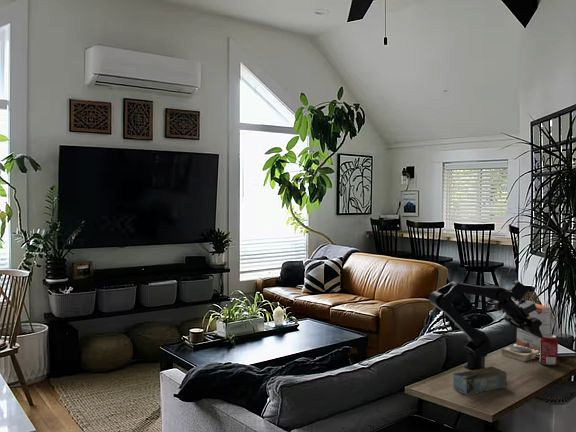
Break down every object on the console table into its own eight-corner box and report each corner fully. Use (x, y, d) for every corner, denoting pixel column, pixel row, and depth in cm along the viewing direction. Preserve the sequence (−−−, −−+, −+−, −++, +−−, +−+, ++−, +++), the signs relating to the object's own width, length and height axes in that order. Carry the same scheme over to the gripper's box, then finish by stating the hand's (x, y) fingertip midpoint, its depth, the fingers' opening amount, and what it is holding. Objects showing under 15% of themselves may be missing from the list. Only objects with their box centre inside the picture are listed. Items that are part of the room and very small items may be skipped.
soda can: (557, 367, 232) (558, 338, 231) (539, 365, 234) (540, 337, 233) (556, 362, 238) (557, 334, 237) (538, 360, 240) (539, 332, 239)
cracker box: (515, 346, 260) (517, 301, 259) (525, 344, 263) (526, 300, 261) (539, 354, 248) (541, 308, 246) (549, 353, 250) (551, 306, 248)
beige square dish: (523, 361, 239) (523, 355, 239) (501, 354, 248) (501, 348, 248) (539, 357, 244) (539, 351, 244) (517, 350, 254) (518, 344, 254)
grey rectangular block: (451, 388, 209) (452, 371, 208) (491, 381, 216) (492, 364, 216) (466, 396, 201) (466, 378, 201) (507, 388, 209) (508, 371, 209)
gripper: (538, 299, 222) (562, 325, 225) (511, 290, 241) (533, 314, 243) (519, 320, 221) (544, 346, 224) (494, 309, 240) (516, 333, 243)
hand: (534, 334), depth 234 cm, fingers open, 9 cm apart
